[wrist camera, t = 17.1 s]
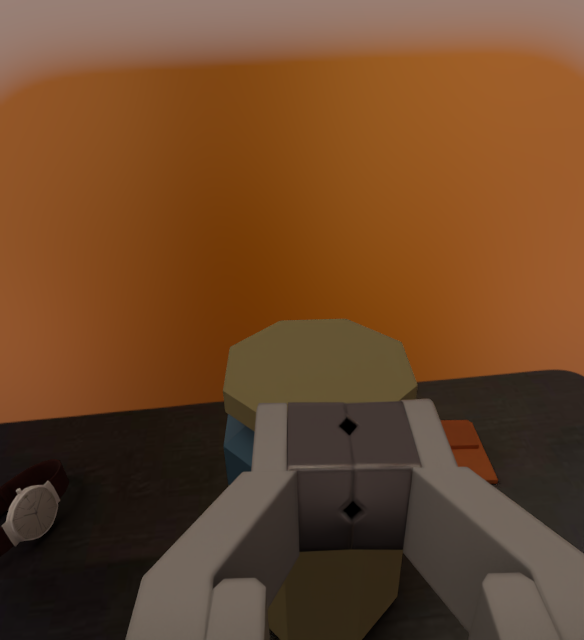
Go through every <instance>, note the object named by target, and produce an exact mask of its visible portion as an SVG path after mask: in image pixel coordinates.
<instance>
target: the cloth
mask: <svg viewBox="0 0 584 640" xmlns="http://www.w3.org/2000/svg"><path fill="white" fill-rule="evenodd" d="M441 424H442V426H443V429H444V431H445V434H446V437H447V439H448V442H449V444H450V447H451V449H452V452H453V455H454V457H455V460H456V462H457V465H458V467H468V468H470V469H471V470H472V471H474V472H475V473H476V474H478V475H479V476H480V477H482V478H483V479H484V480H486V481H487V482H488V483H490V484H497V482H498V479H497V477H496V474H495V472H494V470H493V468H492V466H491V463H490V461H489V459H488V457H487V455H486V452H485V450H484V448H483V446H482V444H481V442H480V439H479V437H478V435H477V433H476V431H475V428H474V426H473V424H472V422H469V421H468V420H442V421H441Z"/></svg>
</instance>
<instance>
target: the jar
mask: <svg viewBox="0 0 584 640" xmlns="http://www.w3.org/2000/svg"><path fill="white" fill-rule="evenodd" d="M417 386H418V385H417V382H416V380H415V377H414V374H413V372H412V369H411V366H410V363H409V361H408V358H407V356H406V353H405V350H404V348H403V345H402V343H401V342H400V341H398V340H395V339H393V338H390V337H388V336H386V335H383V334H381V333H378V332H376V331H374V330H371V329H369V328H366V327H364V326H362V325H359V324H357V323H355V322H352V321H350V320H347V319H324V320H290V321H279V322H277V323H275V324H273V325H272V326H270V327H268V328H266V329H264V330H262V331H260V332H258V333H256V334H254V335H252V336H251V337H249V338H247V339H245V340H243V341H241V342H239V343H237V344H235V345H233V346H231V347H230V351H229V357H228V364H227V370H226V376H225V382H224V389H223V394H224V403H225V412H226V413H228V419H227V426H226V433H225V441H224V453H225V461H226V470H227V478H228V486H229V485H230V484H231V483H232V482H233V481H234V480H235V479H236V478H237V477H238V476H239V475H240V474H241V473H242V472H251V468H252V456H253V445H254V433H255V421H256V410H257V406H258V404H259V403H287V407H288V402H344V403H349V402H383V401H401V400H414V399H416V394H417ZM402 555H403V550H331V551H311V552H299V557H298V559H297V560H296V562H295V564H294V566H293V567H292V569H291V571H290V572H289V574H288V576H287V577H286V579H285V581H284V583H283V584H282V586H281V588H280V589H279V591H278V593H277V595H276V596H275V598H274V600H273V601H272V603H271V605H270V606H269V608H268V622H269V629H270V630H271V631H272V632H273V633H274V634H275V635H276V636H277V637H278V638H279V639H280V640H362V639H363V638H364V637H365V635H366V634H367V633H368V632H369V630H370V629H371V628H372V627H373V626H374V624H375V623H376V622H377V621H378V619H379V618H380V617H381V616H382V615H383V613H384V612H385V611H386V610H387V608H388V607H389V606H390V605H391V604H392V602H393V601H394V600H395V599H396V597H397V595H398V587H399V579H400V571H401V563H402Z"/></svg>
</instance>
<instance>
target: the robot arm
mask: <svg viewBox="0 0 584 640" xmlns="http://www.w3.org/2000/svg"><path fill="white" fill-rule="evenodd" d="M331 550H403V553H404V555H405V556H406V557H407V558H408V559H409V561H410V562H411V563H412V564H413V566H414V567H415V568H416V569H417V570H418V572H419V573H420V574H421V575H422V577H423V578H424V579H425V580H426V581H427V583H428V584H429V585H430V586H431V588H432V589H433V590H434V591H435V592H436V594H437V595H438V596H439V597H440V598H441V600H442V601H443V602H444V603H445V605H446V606H447V607H448V608H449V609H450V611H451V612H452V613H453V614H454V616H455V617H456V618H457V619H458V620H459V622H460V623H461V624H462V625H463V627H464V628H465V629H466V630H467V631H468V633H469V637H468V640H584V554H583V553H582V552H581V551H579V550H578V549H577V548H575V547H574V546H573V545H571V544H570V543H569V542H567V541H566V540H565V539H563V538H562V537H561V536H559V535H558V534H557V533H555V532H554V531H553V530H551V529H550V528H549V527H547V526H546V525H545V524H543V523H542V522H541V521H539V520H538V519H537V518H535V517H534V516H532V515H531V514H530V513H528V512H527V511H526V510H524V509H523V508H522V507H520V506H519V505H518V504H516V503H515V502H514V501H512V500H511V499H510V498H508V497H507V496H506V495H504V494H503V493H502V492H500V491H499V490H498V489H496V488H495V487H494V486H492V485H491V484H490V483H488V482H487V481H486V480H484V479H483V478H482V477H480V476H479V475H478V474H476V473H475V472H474V471H472V470H471V469H470V468H468V467H458V465H457V462H456V460H455V457H454V455H453V452H452V449H451V447H450V444H449V442H448V439H447V437H446V434H445V431H444V429H443V426H442V424H441V421H440V418H439V416H438V413H437V411H436V408H435V406H434V403H433V402H432V401H431V400H430V399H414V400H401V401H383V402H349V403H344V402H288V407H287V403H259V404H258V406H257V410H256V421H255V433H254V445H253V456H252V468H251V472H242V473H241V474H240V475H239V476H238V477H237V478H236V479H235V480H234V481H233V482H232V483H231V484H230V485H229V486H228V488H227V489H226V490H225V491H224V492H223V493H222V494H221V495H220V496H219V497H218V498H217V499H216V500H215V501H214V502H213V503H212V504H211V505H210V506H209V508H208V509H207V510H206V511H205V512H204V513H203V514H202V515H201V516H200V517H199V518H198V519H197V520H196V521H195V522H194V523H193V524H192V525H191V527H190V528H189V529H188V530H187V531H186V532H185V533H184V534H183V535H182V536H181V537H180V538H179V539H178V540H177V541H176V542H175V543H174V544H173V545H172V547H171V548H170V549H169V550H168V551H167V552H166V553H165V554H164V555H163V556H162V557H161V558H160V559H159V560H158V561H157V562H156V563H155V564H154V566H153V567H152V568H151V569H150V570H149V571H148V572H147V573H146V574H145V575H144V576H143V577H142V581H141V584H140V588H139V592H138V595H137V599H136V603H135V606H134V610H133V614H132V618H131V621H130V625H129V629H128V632H127V636H126V640H270V634H269V622H268V608H269V606H270V605H271V603H272V601H273V600H274V598H275V596H276V595H277V593H278V591H279V589H280V588H281V586H282V584H283V583H284V581H285V579H286V577H287V576H288V574H289V572H290V571H291V569H292V567H293V566H294V564H295V562H296V560H297V559H298V557H299V552H311V551H331Z"/></svg>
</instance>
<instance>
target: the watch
mask: <svg viewBox="0 0 584 640" xmlns="http://www.w3.org/2000/svg"><path fill="white" fill-rule="evenodd" d="M45 482H46V483H45ZM43 483H45V484H44V485H41V484H43ZM68 485H69V480H68V478H67V475H66V473H65V471H64V468H63V466H62V464H61V462H60V461H59V460H56V459H51V460H47V461H44V462H41V463H38V464H36V465H34V466H32V467H30V468H28V469H26V470H25V471H23V472H22V473H20V474H18V475H17V476H15V477H14V478H12V479H11V480H10V481H8V482H7V483H5V484H4V485H3V486H1V487H0V516H1V515H2V514H4V513H5V512H6V511H7V510H8V509H9V510H8V514H7V518H6V522H5V523H4V524H3V525H1V527H0V556H2V555H3V554H4V553H6V552H7V551H8V550H9V549H10V548H12V547H13V546H15V547H16V546H17V544H18V543H19V542H20V541H27V540H34V539H37V538H39V537H41V536H42V535H44V534H45V533H46V532H47V531H48V530H49V529H50V527H51V526H52V524H53V522H54V520H55V517H56V514H57V509H58V502H60V497H61V496H62V495H63V494H64V492H65V491H66V489H67V487H68Z"/></svg>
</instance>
